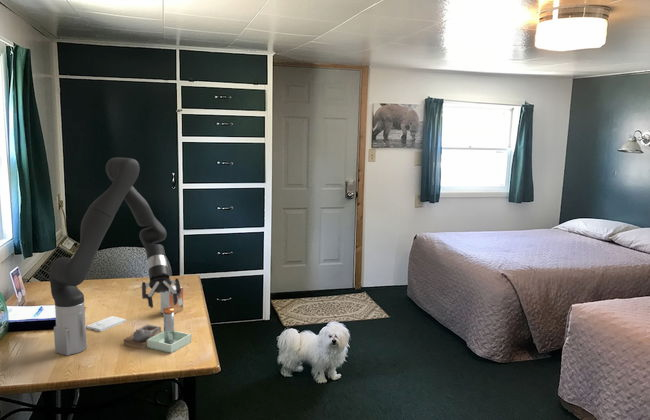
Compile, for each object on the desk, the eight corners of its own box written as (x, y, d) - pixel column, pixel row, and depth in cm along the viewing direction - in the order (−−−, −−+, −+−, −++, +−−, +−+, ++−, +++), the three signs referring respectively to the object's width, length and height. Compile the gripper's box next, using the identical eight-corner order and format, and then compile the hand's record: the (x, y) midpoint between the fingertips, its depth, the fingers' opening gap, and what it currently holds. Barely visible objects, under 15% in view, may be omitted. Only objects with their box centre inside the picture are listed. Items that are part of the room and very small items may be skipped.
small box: (169, 315, 215) (168, 291, 214) (160, 313, 218) (159, 289, 217) (183, 310, 222) (183, 287, 220) (175, 307, 225) (174, 284, 223)
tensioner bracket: (142, 349, 182) (142, 334, 181) (123, 344, 186) (123, 330, 185) (166, 336, 193) (165, 323, 192) (147, 332, 197) (147, 319, 196)
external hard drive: (125, 323, 208) (100, 333, 197) (111, 319, 212) (85, 329, 200) (125, 319, 208) (100, 329, 197) (111, 315, 211) (85, 325, 200)
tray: (171, 353, 179) (171, 345, 179) (147, 347, 183) (146, 339, 183) (191, 341, 189) (191, 334, 189) (167, 336, 193) (167, 329, 193)
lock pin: (170, 346, 184) (169, 311, 182) (161, 344, 185) (160, 309, 184) (177, 342, 187) (176, 308, 186) (168, 340, 189) (167, 306, 187)
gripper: (139, 265, 196) (144, 303, 188) (177, 262, 202) (184, 298, 194) (138, 275, 202) (143, 312, 193) (175, 271, 208) (181, 307, 200)
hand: (163, 305), depth 194 cm, fingers open, 8 cm apart
